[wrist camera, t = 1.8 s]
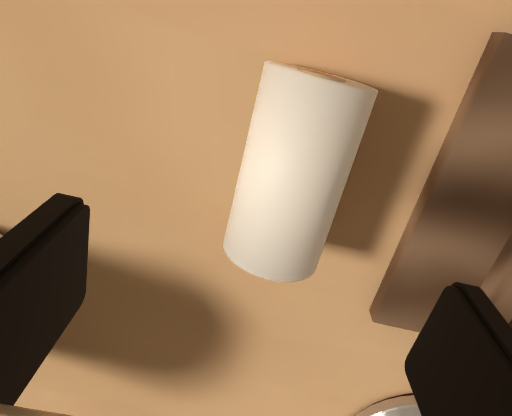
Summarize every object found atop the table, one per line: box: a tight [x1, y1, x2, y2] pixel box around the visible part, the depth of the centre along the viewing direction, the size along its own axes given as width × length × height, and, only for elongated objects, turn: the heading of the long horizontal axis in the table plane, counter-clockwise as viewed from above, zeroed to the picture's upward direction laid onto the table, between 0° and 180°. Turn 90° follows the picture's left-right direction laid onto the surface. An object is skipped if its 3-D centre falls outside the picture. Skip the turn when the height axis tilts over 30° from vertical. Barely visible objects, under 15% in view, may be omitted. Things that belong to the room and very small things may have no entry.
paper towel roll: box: [223, 61, 378, 282], centre depth 21 cm, size 10×6×6 cm, turn 167°
